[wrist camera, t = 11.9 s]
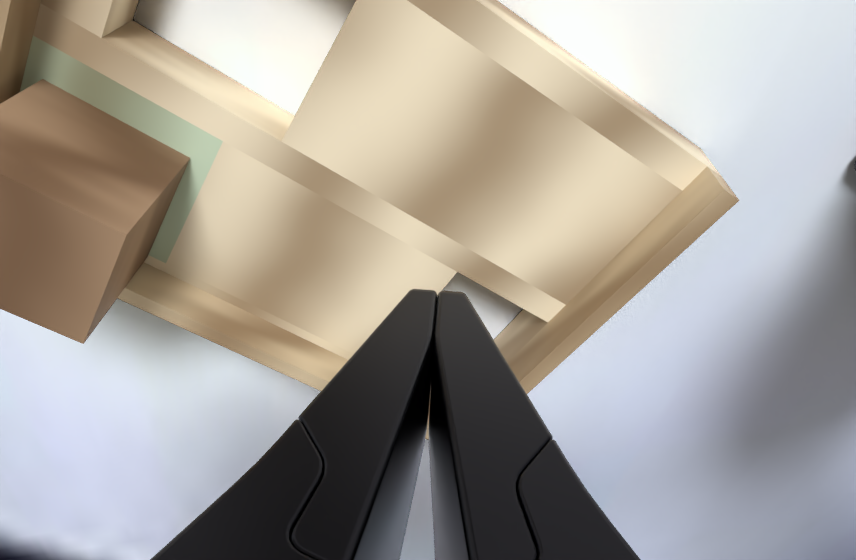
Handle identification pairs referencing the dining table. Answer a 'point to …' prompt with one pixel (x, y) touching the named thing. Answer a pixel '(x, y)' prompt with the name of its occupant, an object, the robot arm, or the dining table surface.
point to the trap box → (384, 178)
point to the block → (75, 207)
